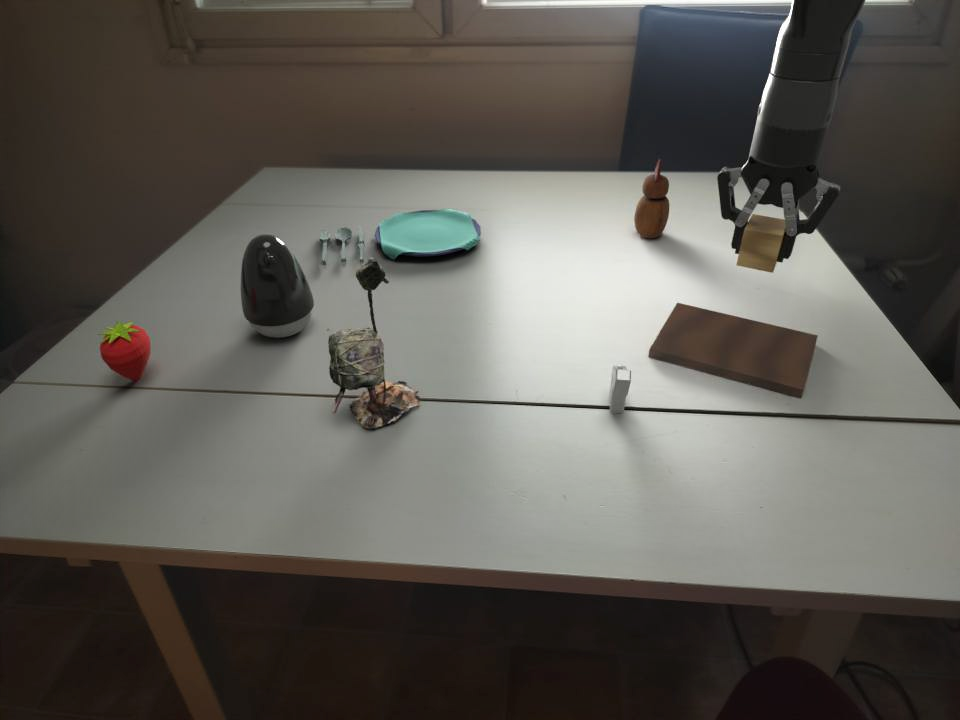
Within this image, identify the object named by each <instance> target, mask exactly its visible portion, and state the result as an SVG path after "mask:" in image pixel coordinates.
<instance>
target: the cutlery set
mask: <svg viewBox="0 0 960 720" xmlns="http://www.w3.org/2000/svg"><path fill="white" fill-rule="evenodd" d="M481 232H482V231H481V225H480V224H479V222H478V221H477V220H476V219H474V218H472V216H471V214H470V213H466V212H463V211H459V210H455V209H450V208H441V209H422V210H416V211H409V212H398V213H396V214H393V215H391V216H390V217H388V218H386V219H383V220H382V221H380V222H379V223H378V227H376V229H375V232H374V238H375V240H376V242H377V244H378V245H379V246H380V247H381V249H382V252H383V253H384V254H385V255H386V256H387V257H388V258H390V259H391V260H394V261H395V260H396V258H397V257H398V256H399V255H403V256H411V257H436V256H442V255H443V256H444V255H448V254H453V253H455V252H458V251H463V250H464V249H465V250H466V251H469V250H470V249H471V248H473V247H475V246H477V245H478V244H479V241H480V239H479V238H480V236H481ZM364 233H365V232H364V228H363V227H362V226H358V239H359V240H357V247H358V249H359V255H360V256H359V257H360V259H359V264H364V263H365V260H364V255H363V253H364V249H365V234H364ZM334 236H335V239H336V240H337V241H339V242H340V241H341V243H342V244H341V255H340V262H341V263H347V257H346V256H347V255H346V241H348V240H350V239H351V238H352V236H353V232H352V229H350V228H349V227H346V226H344V227H343V226H342V227H339V228H338V229H337V230H335V233H334ZM331 242H332V238H331V230H330V229H328V231H327V229H325V230H321V234H320V238H319V243H320V244H322V254H321V256H322V257H321V265H322V266H326V265H327V256H328V255H327V254H328V245H329V244H330V243H331Z"/></svg>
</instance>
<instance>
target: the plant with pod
mask: <svg viewBox="0 0 960 720" xmlns="http://www.w3.org/2000/svg"><path fill="white" fill-rule="evenodd" d="M355 278H356V280H357V281H358V283H359V285H360V286H361V288H362V289H363V290H364V291H367V300H368V304H369V305H368V306H369V316H370V321H371V325H372V328H371V327H363V328H362V327H354V328H353V327H352V328H348V329H342V330H337V331H336V332H333V333H331V334H329V336H328V340H327V341H328V342H327V343H328V354H329V356H330V361H329V366H328V370H329V372H328V373H329V377H330V380H331V381H332V383H333V384H335V385H336V386H338V387H339V391H338V393H337V394H336V397H335V398H334V405H333V409H332V413H331V414H332V415H336V414H337V411H338V408H339V406H340V404H341V403H342V400H343V397H344V396H345V393H346V390H348V391H353V390H354V391H357V390H359V389H366V390H364V391H363V392H362V393H361V394H360V395H359V396H358V397H355V398H354V399H353V400H352V401H351V402H350V403H348V408H349V409H348V411H350V413H351V414H352V415H353V417H354V420H357V421H356V422H358V423H359V424H360V425H361V428H363V427H364V429H366V428H367V429H368V430H369V429H375V430H376V429H378V427H379V428H380V427H383V426H385V425H387V424H391V422H397V420H398V419H399V418H400V417H402V415H404V414H403V413H405V412H409V411H410V408H414V407H417V406H420V403H421V399H420V398H421V397H420V396H418V393H419V390H417V391H416V390H413V389H412V387H410V386H409V384H408V382H406V381H405V380H403V381H402V380H401V381H400V380H398V381H396V382H393V383H392V382H390V381H386V379H385V359H384V357H385V353H384V351H385V348H384V347H385V344H384V342H383V341H382V337H381V334H379V332H378V329H377V326H376V320H375V314H374V306H373V304H374V303H373V292H372V291H375V290H377V288H379V285H380V284H381V283H384V284H386V285H387V284H389V283H390V281H389V280H388V279H387V277H386V271H385V270H384V267H382V266H381V264H380V263H379V261H378V260H376V258H373V257H369V258H368V259H367V260H366V261H364V263H361V265H360V266H359V267H358V268H357V270H356V273H355ZM329 331H330V328H327V329H326V332H329Z"/></svg>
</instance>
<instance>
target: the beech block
mask: <svg viewBox="0 0 960 720" xmlns="http://www.w3.org/2000/svg"><path fill="white" fill-rule="evenodd" d="M785 231H786V225H785V218H784V219H783V218H780V217H779V218H778V217H774V216H773V217H772V216H767V215H760V214H754V213H752V214H751V215H750V217H749V219H748V223H747V225H746V227H745V229H744V234H743V238H742V242H741V247H740V251H739V254H738V255H737V260H736V266H738V267H742V268H747V269H751V270H757V271H761V272H766V273H774V271H775V269H776V267H777V264H778V262H777V259H778V255H779V251H780V247H781V244H782V240H783V236H784V233H785Z"/></svg>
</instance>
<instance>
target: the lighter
mask: <svg viewBox="0 0 960 720" xmlns="http://www.w3.org/2000/svg"><path fill="white" fill-rule="evenodd" d="M631 382H632V370H630V369H628V367H627V366H625V365H622V364H619V365H618V364H617V365H612V369H611V379H610V385H609V386H610V387H609V412H610V413H615V414H624V412H625V406H626V399H627V396H628V394H629V391H630V386H631Z"/></svg>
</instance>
